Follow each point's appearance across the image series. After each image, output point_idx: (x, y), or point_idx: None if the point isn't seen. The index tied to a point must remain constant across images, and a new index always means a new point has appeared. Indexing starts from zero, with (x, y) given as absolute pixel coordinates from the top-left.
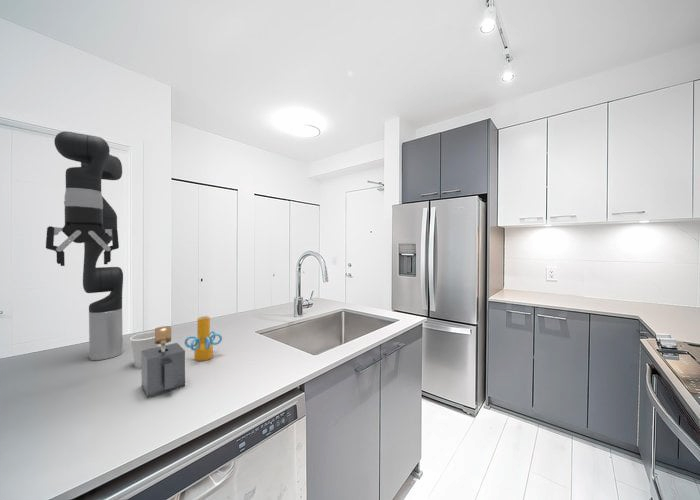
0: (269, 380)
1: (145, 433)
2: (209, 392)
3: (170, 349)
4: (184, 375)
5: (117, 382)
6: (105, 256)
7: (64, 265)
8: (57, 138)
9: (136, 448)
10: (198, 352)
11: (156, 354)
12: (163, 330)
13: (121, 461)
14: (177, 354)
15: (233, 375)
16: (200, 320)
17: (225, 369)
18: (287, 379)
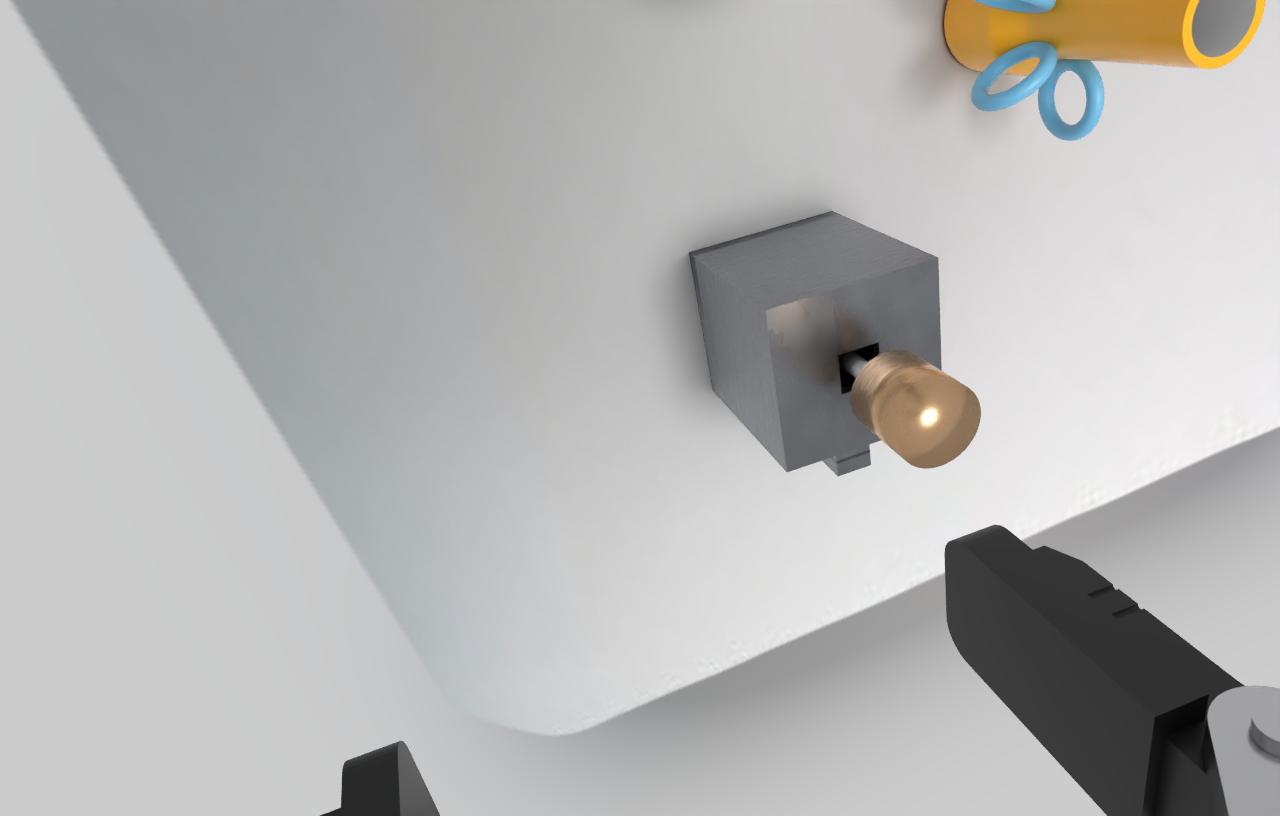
0: (1090, 448)
1: (711, 602)
2: None
3: None
4: None
5: (577, 131)
6: (1067, 750)
7: (414, 763)
8: None
9: (693, 655)
10: (989, 62)
11: (827, 413)
12: (932, 466)
13: (665, 688)
14: None
15: (1017, 341)
16: (1180, 58)
17: (1016, 257)
18: (1135, 468)
